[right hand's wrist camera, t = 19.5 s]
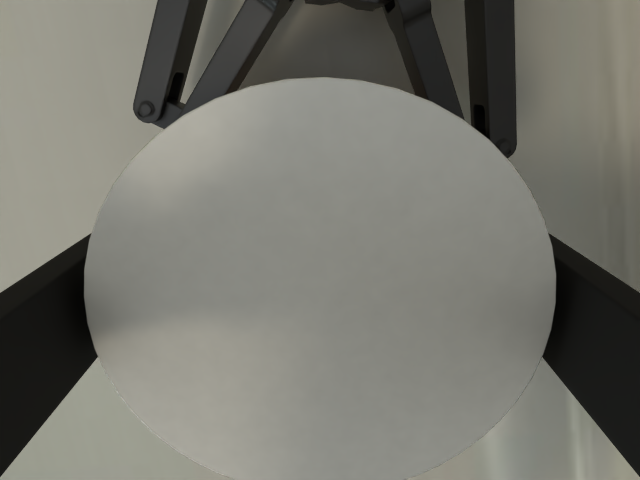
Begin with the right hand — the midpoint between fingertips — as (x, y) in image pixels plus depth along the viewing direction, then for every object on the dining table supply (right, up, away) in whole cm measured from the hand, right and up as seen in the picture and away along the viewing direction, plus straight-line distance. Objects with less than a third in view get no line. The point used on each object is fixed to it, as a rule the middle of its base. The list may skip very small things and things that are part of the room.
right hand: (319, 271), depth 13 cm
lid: (0, -1, -3) cm, 3 cm away
